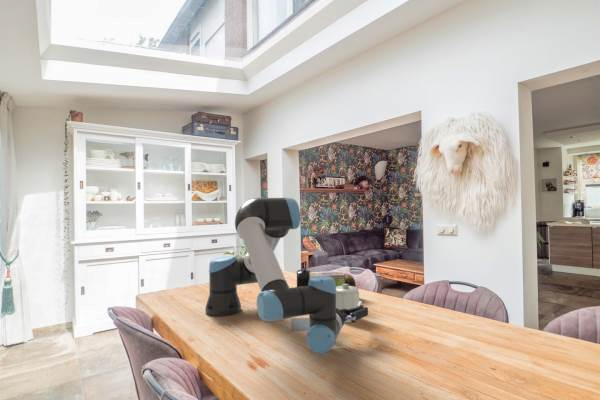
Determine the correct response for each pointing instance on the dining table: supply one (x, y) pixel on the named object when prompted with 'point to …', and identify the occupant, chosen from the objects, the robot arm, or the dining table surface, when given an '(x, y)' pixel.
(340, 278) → the tea box
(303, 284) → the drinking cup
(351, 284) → the shell
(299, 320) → the plate
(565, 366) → the dining table surface
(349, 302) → the ribbed plastic canister
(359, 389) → the dining table surface
